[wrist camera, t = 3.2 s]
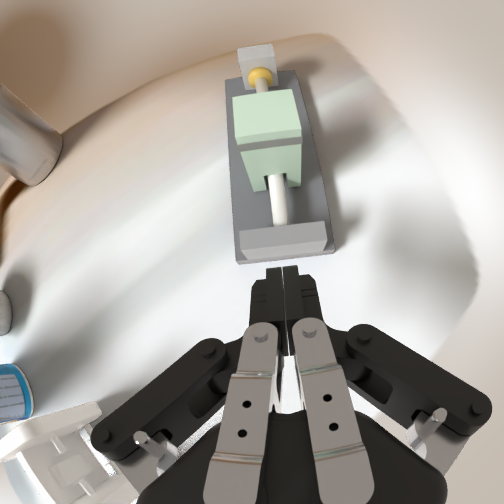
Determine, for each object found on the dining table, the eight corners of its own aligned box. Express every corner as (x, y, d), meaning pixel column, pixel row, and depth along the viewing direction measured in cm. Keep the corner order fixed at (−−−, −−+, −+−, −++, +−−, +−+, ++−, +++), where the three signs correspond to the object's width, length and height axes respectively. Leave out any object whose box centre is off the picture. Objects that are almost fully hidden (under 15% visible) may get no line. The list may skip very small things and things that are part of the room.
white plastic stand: (108, 392, 24) (24, 415, 12) (168, 474, 21) (109, 532, 10) (48, 432, 23) (-16, 450, 12) (94, 498, 20) (40, 532, 9)
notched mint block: (301, 186, 23) (302, 129, 16) (253, 192, 24) (234, 138, 16) (294, 150, 24) (292, 88, 16) (249, 156, 25) (231, 96, 17)
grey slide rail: (332, 253, 23) (343, 234, 18) (239, 264, 24) (222, 248, 19) (295, 79, 28) (292, 41, 23) (227, 88, 29) (216, 52, 24)
